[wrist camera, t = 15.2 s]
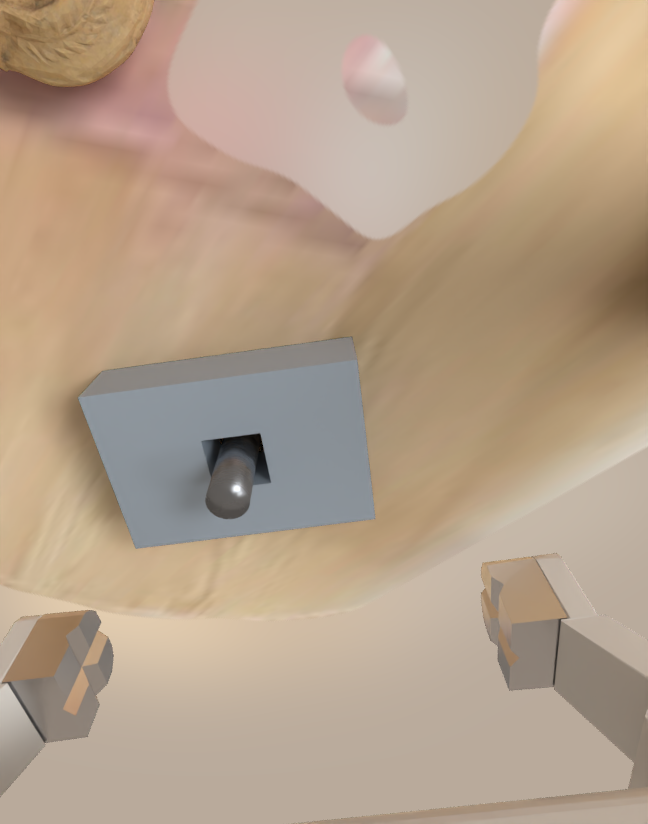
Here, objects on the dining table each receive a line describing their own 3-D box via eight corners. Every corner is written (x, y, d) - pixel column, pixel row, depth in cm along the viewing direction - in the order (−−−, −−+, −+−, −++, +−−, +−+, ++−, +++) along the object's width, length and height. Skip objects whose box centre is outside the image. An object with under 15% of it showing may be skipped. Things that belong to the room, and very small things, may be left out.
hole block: (352, 336, 41) (357, 359, 36) (369, 483, 47) (375, 519, 43) (102, 370, 42) (77, 397, 37) (152, 511, 48) (135, 548, 43)
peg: (258, 412, 44) (244, 480, 35) (264, 443, 45) (253, 516, 36) (222, 417, 44) (200, 486, 35) (230, 447, 45) (210, 521, 36)
